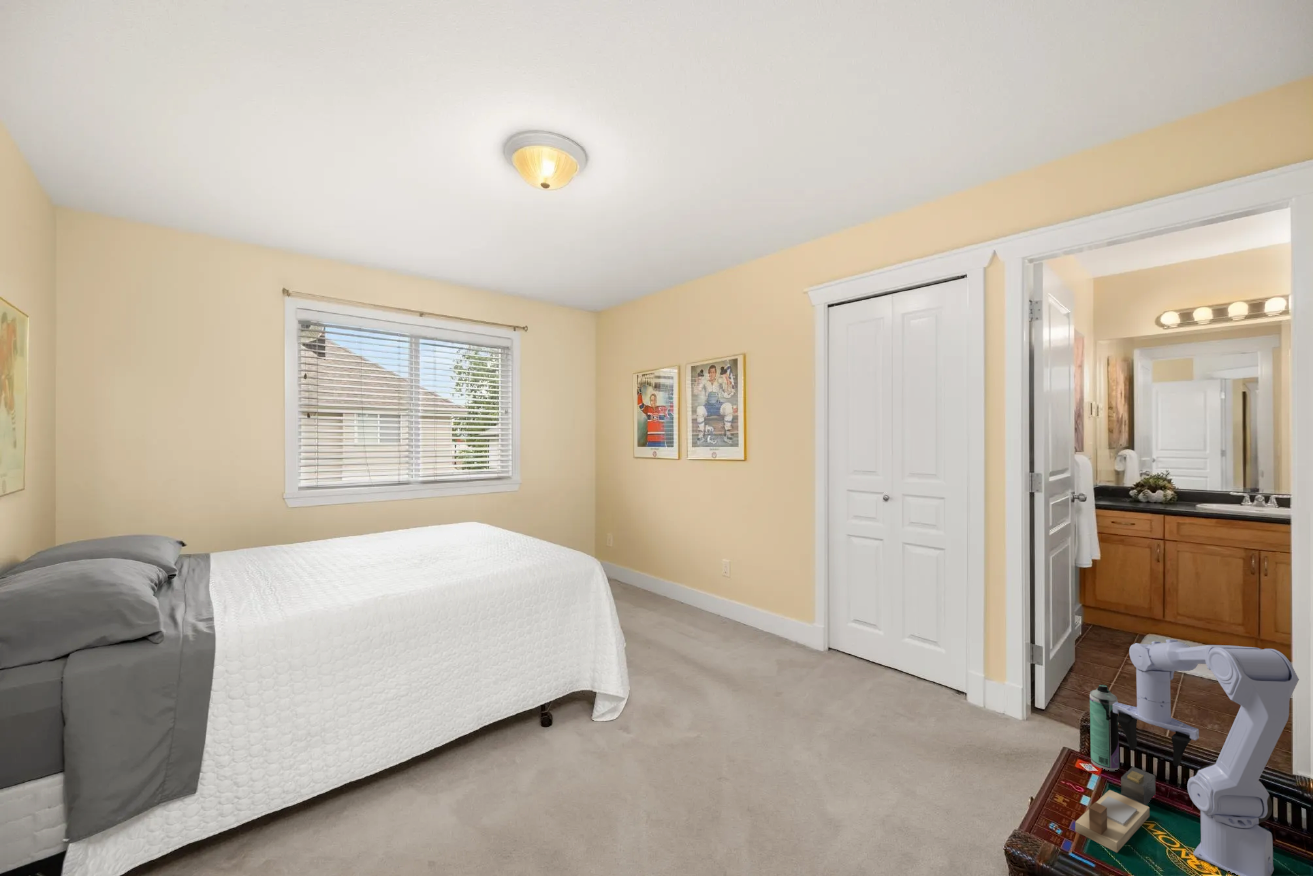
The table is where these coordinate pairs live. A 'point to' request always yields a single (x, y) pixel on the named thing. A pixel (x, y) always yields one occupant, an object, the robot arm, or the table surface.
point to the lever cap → (1138, 785)
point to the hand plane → (1112, 820)
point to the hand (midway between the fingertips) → (1154, 756)
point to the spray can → (1104, 729)
